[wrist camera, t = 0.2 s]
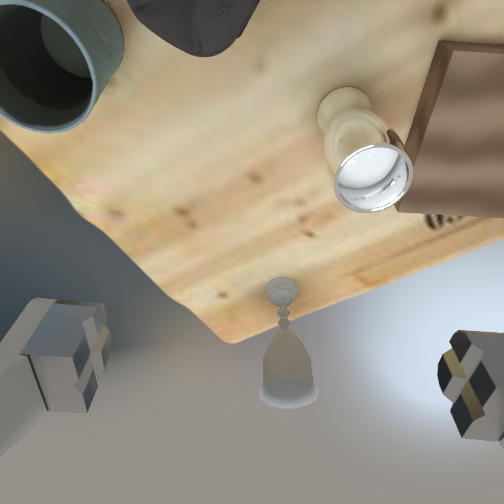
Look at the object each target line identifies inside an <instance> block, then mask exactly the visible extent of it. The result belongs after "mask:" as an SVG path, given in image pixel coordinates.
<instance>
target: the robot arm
mask: <svg viewBox="0 0 504 504" xmlns="http://www.w3.org/2000/svg"><path fill="white" fill-rule="evenodd" d="M106 318H107V313H106V309H105V306H104V305H102V304H98V303H87V302H78V301H67V300H52V299H43V298H35V299H33V300H32V301H30V302H29V303H28V305H27V306H26V307H25V309H24V310H23V312H22V313H21V314H20V316H19V317H18V319H17V320H16V321H15V323H14V324H13V326H12V327H11V328H10V330H9V331H8V333H7V334H6V336H5V337H4V338H3V340H2V341H1V343H0V457H1V456H2V455H3V454H4V453H5V452H6V451H7V450H8V449H9V448H11V447H12V446H13V445H14V444H15V443H16V442H17V441H18V440H19V439H20V438H21V437H23V436H24V435H25V434H26V433H27V432H28V431H29V430H30V429H31V428H33V427H34V426H35V424H37V423H38V422H39V421H40V420H41V419H42V418H43V417H44V416H46V415H47V414H48V412H47V411H55V412H79V413H87V412H88V410H89V407H90V405H91V402H92V400H93V397H94V395H95V392H96V390H97V388H98V385H97V380H96V376H97V375H99V374H100V373H101V372H102V371H104V370H105V367H106V365H107V362H108V359H109V353H110V349H111V336H110V330H109V329H108V328H107V327H106V326H105V325H104V322H105V320H106ZM449 342H450V344H451V346H452V349H450V350H449V351H447V352H446V353H444V354H442V357H441V359H440V361H439V363H438V373H437V376H438V381H439V385H440V388H441V390H442V392H443V394H444V395H445V396H446V397H447V398H448V399H449V400H450V401H452V402H453V404H452V407H451V410H450V412H451V414H452V416H453V419H454V421H455V423H456V426H457V428H458V430H459V433H460V435H461V438H466V439H478V440H487V441H498V442H500V443H499V444H500V445H501V446H502V447H503V448H504V333H496V332H480V331H465V330H458V331H457V332H455V333H454V334H453V336H452V338H451V339H450V341H449Z"/></svg>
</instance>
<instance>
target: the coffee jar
mask: <svg viewBox="0 0 504 504" xmlns="http://www.w3.org/2000/svg"><path fill="white" fill-rule="evenodd" d="M127 1H128V4H129V6H130V8H131V10H132V11H133V13H134V14H135V16H136V17H137V19H138V20H139V21H140V22H141V23H142V24H143V25H145V26H146V27H147V28H148V29H149V30H151V31H152V32H153V33H155V34H156V35H158V36H159V37H160V38H162V39H163V40H165V41H166V42H168V43H170V44H171V45H173V46H174V47H176V48H178V49H180V50H182V51H184V52H186V53H188V54H191V55H193V56H198V57H211V56H214V55H217V54H220V53H221V52H223V51H225V50H226V49H227V48H228V47H230V45H231V44H232V43H233V42H234V41H235V40H236V38H238V37H240V36H241V35H242V33H243V31H244V29H245V27H246V25H247V23H248V21H249V20H250V18H251V16H252V14H253V12H254V11H255V9H256V7H257V5H258V3H259V1H260V0H127Z"/></svg>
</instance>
